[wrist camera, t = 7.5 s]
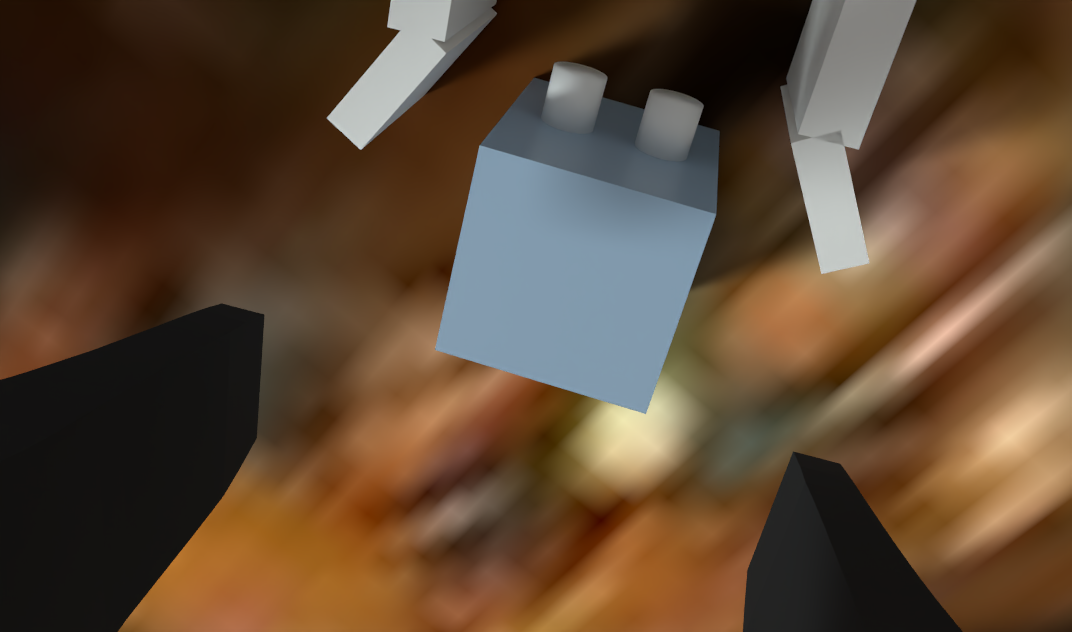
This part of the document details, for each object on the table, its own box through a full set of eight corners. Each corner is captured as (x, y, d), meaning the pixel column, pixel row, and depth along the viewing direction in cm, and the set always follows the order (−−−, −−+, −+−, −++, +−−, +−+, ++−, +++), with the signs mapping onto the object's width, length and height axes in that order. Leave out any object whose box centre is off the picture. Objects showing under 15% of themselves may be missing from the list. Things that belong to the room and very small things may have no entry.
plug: (494, 247, 22) (435, 349, 18) (545, 29, 20) (492, 86, 15) (662, 296, 22) (646, 413, 18) (735, 83, 20) (736, 156, 15)
